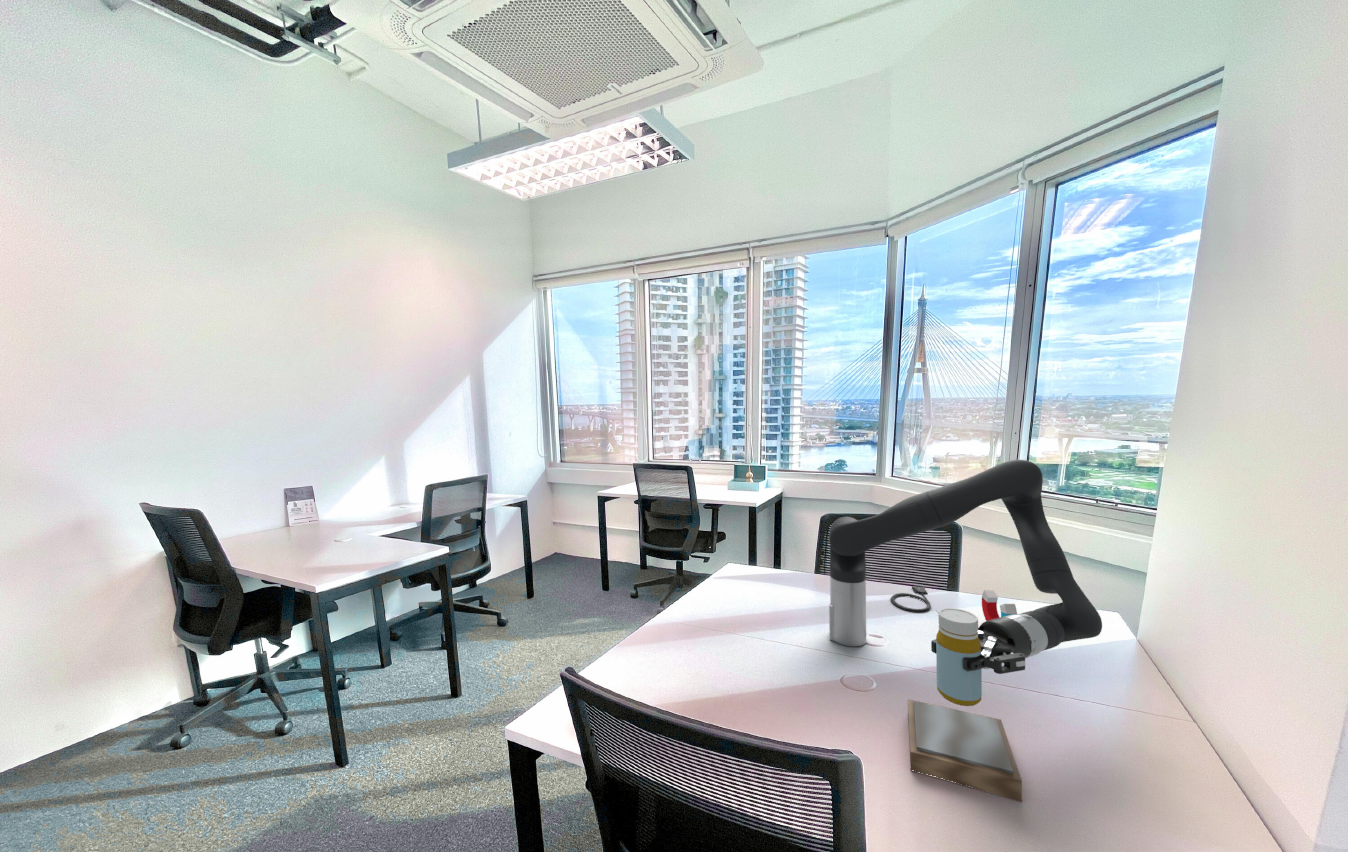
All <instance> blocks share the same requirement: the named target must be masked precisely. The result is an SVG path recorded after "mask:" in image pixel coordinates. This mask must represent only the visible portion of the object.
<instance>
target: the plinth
mask: <svg viewBox="0 0 1348 852" xmlns="http://www.w3.org/2000/svg"><path fill="white" fill-rule="evenodd" d="M907 721H908V722H907V723H908V726H907V727H908V745H909V762H910V767H911V768H910V771H911V770H914V771H916V772H920V773H923V774H928V775H932V776H936V777H938V778H943V779H945V780H949V781H953V782H956V783H959V784H962V785H961V786H963V785H967V786H970V787H973V788H972V789H974V788H976V789H975V790H977V789H979V790H978V791H981V790H982V792H985V791H986V793H988V792H990V793H989V794H992V793H993V795H995V794H997V795H996V796H999V795H1001V796H1000V797H1003V796H1004V797H1003V798H1006V797H1007V799H1010V800H1013V801H1019V802H1021V803H1022V802H1023V796H1022V795H1023V780H1022V777H1021V775H1020V771H1019V768H1018V765H1017V762H1016V759H1015V757H1014V753H1013V750H1012V747H1011V744H1010V742H1009V739H1008V735H1007V733H1006V729H1005V727H1004V724H1003V721H1002V719H1000V718H996V717H991V716H987V715H981V714H977V713H973V712H968V711H964V710H959V709H954V708H950V707H946V706H940V705H936V704H931V703H927V702H923V701H918V700H913V699H907ZM916 772H915V773H916ZM920 773H919V774H920ZM923 774H922V775H923ZM938 778H937V779H938ZM945 780H944V781H945ZM949 781H948V782H949ZM956 783H955V784H956ZM959 784H958V785H959ZM967 786H966V787H967ZM970 787H969V788H970Z"/></svg>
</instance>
